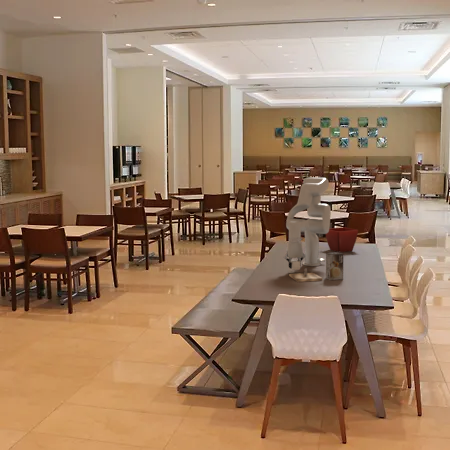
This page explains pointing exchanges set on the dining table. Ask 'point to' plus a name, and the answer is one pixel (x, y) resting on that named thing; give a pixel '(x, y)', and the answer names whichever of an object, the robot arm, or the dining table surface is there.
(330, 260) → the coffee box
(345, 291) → the dining table surface
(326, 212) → the robot arm
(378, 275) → the dining table surface
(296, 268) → the jaw block
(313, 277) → the pin plate
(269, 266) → the dining table surface
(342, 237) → the plant pot
